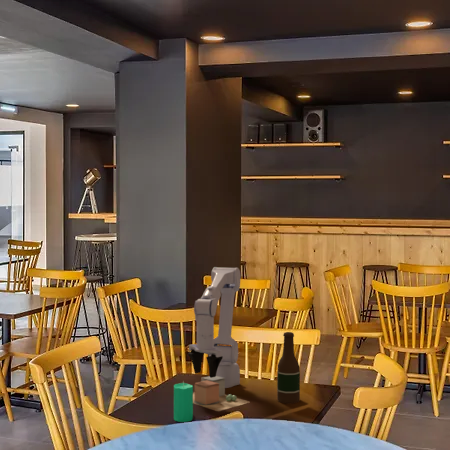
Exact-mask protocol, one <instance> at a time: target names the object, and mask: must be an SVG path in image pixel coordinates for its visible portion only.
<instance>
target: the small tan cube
mask: <svg viewBox="0 0 450 450" xmlns="http://www.w3.org/2000/svg"><path fill="white" fill-rule="evenodd" d="M194 392H195V401H197V402H200V403H203V404H210V403H214V402H218V401H219V383H216V382H212V381H209V380H206V381H202V382H201V381H198V382H195V383H194Z"/></svg>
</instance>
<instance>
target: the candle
mask: <svg viewBox="0 0 450 450" xmlns="http://www.w3.org/2000/svg"><path fill="white" fill-rule="evenodd" d="M193 392H194V386H193V384H189V383H186V382H184V380H183V381H182V382H180V383H175V384H173V420H174V421H175V422H180V423H184V422H185V423H186V422H190V421H192V420H193V419H194V403H193Z"/></svg>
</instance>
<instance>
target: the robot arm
mask: <svg viewBox="0 0 450 450" xmlns="http://www.w3.org/2000/svg"><path fill="white" fill-rule="evenodd" d="M210 275H211V276H210V277H211V278H210V279H211V285H209V286H207V287H206V288H205V290H204V291H203V294H202V296H201V297H200V298H198V299H197V300H195V301H194V306H193V313H194V317H195V318H194V320H195V322H196V344H195V343H192V344H188V351H189V352H188V353H187V355H188V357H189V359H190V361H191V363H192V367H193V371H194V373H195V374H199V373H201V372H202V362H203V357H204V354H205V355H208V356H206V357H205V359H206V361H207V364H208V373H209V375H208V376H210V377H211V378H212V377H216V376H220V377H223V378H225V389H227V388H229V389H230V388H232V387H234V386H237V385H240V384H241V382H240V381H241V377H240V376H241V372H240V371H241V369H240V366H239V364H238V363H237V361H238V359H239V347H238V346H239V343H238V342H237V341H236V340H235V339H234V337H232V331H233V330H232V329H233V318H234V317H233V316H234V315H233V314H234V303H235V295H236V293H237V292H238V291H240V288H241V270H240V268H239V267H217V266H214V267H213V268H212V270H211V273H210ZM220 298H221V299H220ZM219 301H220V309H219V321H218V333H217V335H218V336H216V337H215V335H214V333H215V332H214V331H215V330H214V329H215V328H214V327H215V325H214V323H215V320H214V319H215V316H216V314H217V309H218V302H219ZM214 337H215V338H214Z"/></svg>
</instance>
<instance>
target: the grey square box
mask: <svg viewBox="0 0 450 450" xmlns="http://www.w3.org/2000/svg"><path fill="white" fill-rule="evenodd" d="M206 380H209V381H212V382H216V383H219V396H223V395H226V388H225V378H223V377H220V376H216V377H212V378H211V377H210V375H207V376H203V377H201V379H200V382H202V381H206Z"/></svg>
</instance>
